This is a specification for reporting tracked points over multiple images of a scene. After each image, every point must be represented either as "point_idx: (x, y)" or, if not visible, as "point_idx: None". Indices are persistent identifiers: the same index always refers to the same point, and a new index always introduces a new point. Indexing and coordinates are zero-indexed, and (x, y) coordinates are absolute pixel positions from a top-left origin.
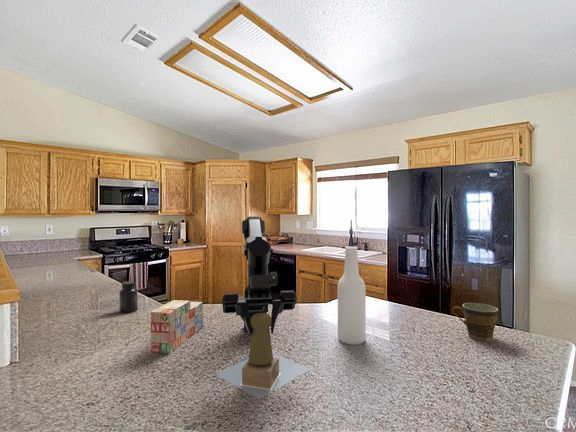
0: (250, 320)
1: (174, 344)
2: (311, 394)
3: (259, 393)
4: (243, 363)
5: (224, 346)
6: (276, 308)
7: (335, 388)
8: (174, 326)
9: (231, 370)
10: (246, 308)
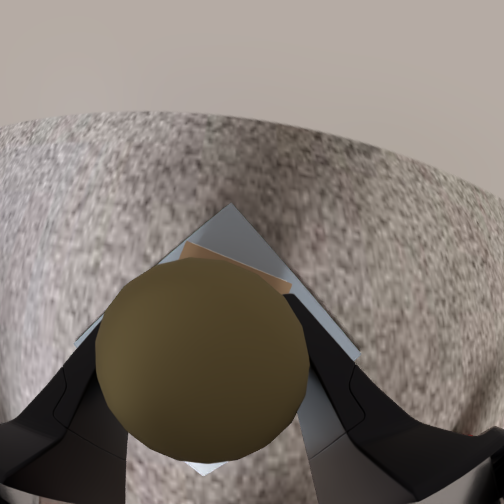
0: (308, 356)
1: None
2: (93, 217)
3: (228, 230)
4: None
5: None
6: (23, 430)
7: (41, 237)
8: None
9: None
10: (390, 449)
